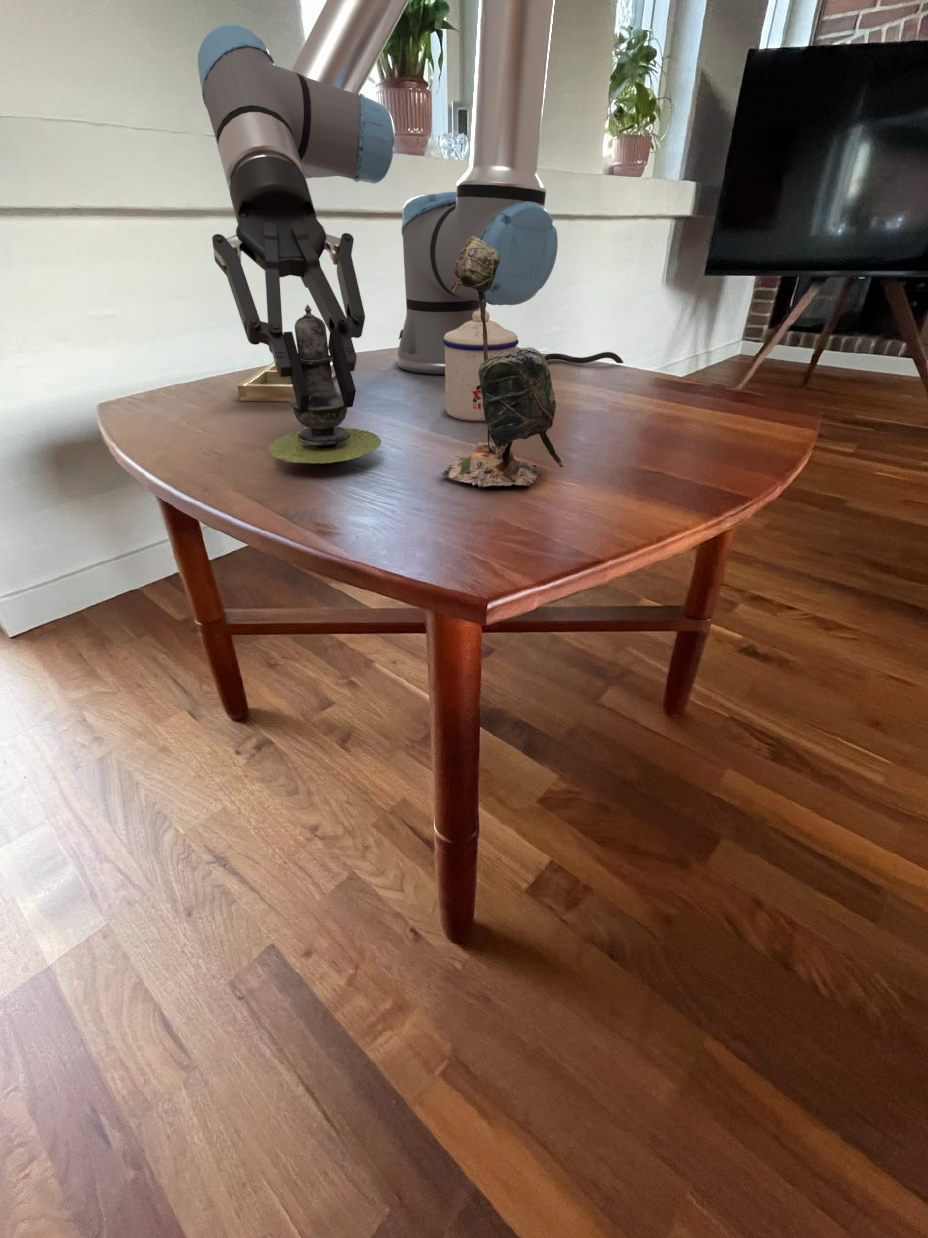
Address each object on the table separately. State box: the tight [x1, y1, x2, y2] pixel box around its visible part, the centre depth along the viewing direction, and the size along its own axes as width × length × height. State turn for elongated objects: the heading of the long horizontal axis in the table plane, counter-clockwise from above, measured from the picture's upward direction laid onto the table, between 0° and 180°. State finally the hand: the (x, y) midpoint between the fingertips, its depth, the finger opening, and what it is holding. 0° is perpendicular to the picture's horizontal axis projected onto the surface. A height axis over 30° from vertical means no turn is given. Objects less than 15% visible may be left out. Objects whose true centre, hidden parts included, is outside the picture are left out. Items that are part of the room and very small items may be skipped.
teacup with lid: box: [443, 310, 521, 422], centre depth 76 cm, size 12×9×12 cm
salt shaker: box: [288, 304, 350, 445], centre depth 59 cm, size 6×6×12 cm
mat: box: [268, 427, 382, 465], centre depth 63 cm, size 11×11×2 cm
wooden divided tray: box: [237, 360, 336, 402], centre depth 90 cm, size 10×18×2 cm, turn 177°
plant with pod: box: [441, 236, 565, 488], centre depth 54 cm, size 8×11×20 cm
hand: (327, 401), depth 57 cm, fingers closed on salt shaker, 4 cm apart
